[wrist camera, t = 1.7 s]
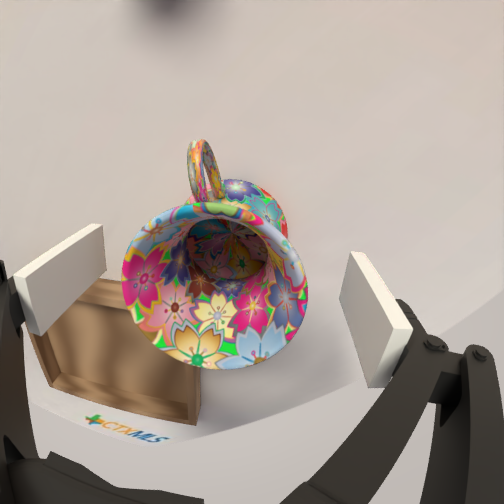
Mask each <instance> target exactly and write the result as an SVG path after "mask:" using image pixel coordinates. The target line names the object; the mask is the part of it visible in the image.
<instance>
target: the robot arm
mask: <svg viewBox="0 0 504 504" xmlns="http://www.w3.org/2000/svg"><path fill="white" fill-rule="evenodd" d="M106 270H107V269H106V260H105V249H104V237H103V225H101V224H90V225H88V226H87V227H85V228H83V229H82V230H80V231H78V232H77V233H75V234H73V235H72V236H70V237H69V238H67V239H66V240H64V241H62V242H61V243H59V244H58V245H56V246H55V247H53V248H52V249H50V250H48V251H47V252H45V253H44V254H42V255H41V256H40V257H38V258H37V259H35V260H34V261H32V262H31V263H29V264H28V265H26V266H25V267H24V268H22V269H21V270H19V271H18V272H16V273H15V274H14V275H13V276H12V277H11V278H9V279H7V275H6V271H5V266H4V262H3V261H2V260H0V504H204V499H201V498H195V497H189V496H184V495H179V494H174V493H170V492H166V491H162V490H142V489H128V488H118V487H115V486H113V485H111V484H110V483H108V482H106V481H105V480H103V479H102V478H100V477H99V476H97V475H96V474H94V473H93V472H91V471H90V470H89V469H87V468H86V467H84V466H83V465H81V464H79V463H76V462H74V461H71V460H69V459H67V458H65V457H62V456H60V455H58V454H56V453H54V452H52V451H50V453H49V455H48V457H47V459H40V458H39V456H38V453H37V450H36V445H35V440H34V436H33V430H32V424H31V419H30V412H29V405H28V397H27V389H26V378H25V366H24V346H23V330H22V327H21V324H22V323H23V322H24V321H26V324H27V327H28V330H29V332H30V333H33V334H36V335H39V336H42V335H43V334H44V333H45V332H46V331H47V330H48V329H49V328H50V326H51V325H52V324H53V323H54V322H55V321H56V320H57V319H58V318H59V317H60V316H61V315H62V314H63V313H64V312H65V311H66V310H67V309H68V308H69V307H70V306H71V305H72V304H73V303H74V302H75V301H76V300H77V299H78V298H79V297H80V296H81V295H82V294H83V293H84V292H85V291H86V290H87V289H88V288H89V287H90V286H91V285H92V284H93V283H94V282H95V281H96V280H97V279H98V278H99V277H100V276H101V275H102V274H103V273H104V272H105V271H106ZM339 300H340V303H341V306H342V309H343V312H344V314H345V317H346V320H347V323H348V326H349V329H350V332H351V335H352V338H353V341H354V344H355V347H356V350H357V353H358V357H359V360H360V363H361V366H362V369H363V373H364V376H365V379H366V382H367V386H368V388H385V389H384V391H383V392H382V394H381V395H380V396H379V398H378V399H377V401H376V402H375V403H374V405H373V406H372V407H371V409H370V410H369V411H368V413H367V414H366V415H365V416H364V418H363V419H362V420H361V422H360V423H359V424H358V425H357V427H356V428H355V429H354V430H353V432H352V433H351V434H350V435H349V436H348V438H347V439H346V440H345V441H344V442H343V444H342V445H341V446H340V447H339V448H338V449H337V451H336V452H335V453H334V454H333V455H332V456H331V457H330V458H329V459H328V461H327V462H326V463H325V464H324V465H323V466H322V467H321V468H320V469H319V470H318V471H317V472H316V474H314V476H312V477H311V478H310V479H309V480H308V481H307V482H303V483H302V484H301V485H299V486H298V487H297V488H296V489H295V490H294V491H293V492H292V493H291V494H290V495H288V496H287V497H286V498H285V499H284V500H283V501H282V502H281V503H280V504H368V503H369V502H370V500H371V499H372V497H373V496H374V495H375V493H376V492H377V490H378V489H379V487H380V486H381V484H382V483H383V481H384V480H385V478H386V477H387V475H388V474H389V472H390V471H391V469H392V468H393V466H394V464H395V463H396V461H397V459H398V458H399V456H400V454H401V453H402V451H403V449H404V447H405V446H406V444H407V442H408V440H409V438H410V437H411V435H412V432H413V431H414V429H415V427H416V425H417V423H418V421H419V419H420V417H421V415H422V413H423V411H424V409H425V407H426V405H427V403H428V402H430V403H435V404H436V413H435V422H434V431H433V438H432V445H431V451H430V457H429V463H428V468H427V473H426V478H425V483H424V488H423V492H422V496H421V500H420V504H504V418H503V409H502V401H501V394H500V388H499V382H498V377H497V371H496V366H495V362H494V358H493V356H492V354H491V353H490V352H489V350H487V349H485V347H483V346H479V345H474V344H473V345H469V346H468V347H467V348H466V350H465V352H464V354H458V353H453V352H449V351H448V349H449V348H448V346H447V344H446V343H445V342H444V341H443V340H441V339H440V338H438V337H436V336H433V335H428V334H427V333H426V331H425V329H424V328H423V326H422V325H421V323H420V322H419V320H417V317H416V316H415V314H413V311H412V310H411V308H410V307H409V305H407V304H406V303H405V302H404V301H402V300H401V299H394V297H393V295H392V294H391V292H390V291H389V289H388V288H387V286H386V285H385V283H384V282H383V280H382V279H381V277H380V276H379V274H378V273H377V271H376V270H375V268H374V267H373V265H372V264H371V262H370V261H369V259H368V258H367V256H366V255H365V254H364V253H360V252H352V251H350V254H349V259H348V263H347V268H346V272H345V276H344V280H343V285H342V289H341V293H340V297H339ZM391 377H393V378H392V379H391ZM390 379H391V381H390ZM389 381H390V382H389ZM388 383H389V384H388Z"/></svg>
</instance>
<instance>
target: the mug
mask: <svg viewBox="0 0 504 504" xmlns="http://www.w3.org/2000/svg"><path fill="white" fill-rule="evenodd" d="M203 163H204V166H205V169H206V172H207V175H208V178H209V182H210V184H207V185H206V183H205V177H204V170H203ZM187 165H188V175H189V181H190V186H191V190H192V193H193V195H192V196H191V197H190V198H189V199H188V200H187V201H186V203H185V205H181V206H178V207H174V208H172V209H170V210H167V211H165V212H163V213H161V214H159V215H158V216H156V217H155V218H153V219H152V220H150V221H149V222H148V223H147V224H146V225H145V226H144V227H143V228H142V229H141V230H140V231H139V232H138V233H137V234H136V236H135V237H134V239H133V240H132V242H131V244H130V246H129V247H128V250H127V252H126V255H125V258H124V262H123V267H122V279H121V281H122V291H123V296H124V300H125V304H126V306H127V309H128V311H129V313H130V315H131V317H132V319H133V321H134V322H135V324H136V325H137V327H138V328H139V330H140V331H141V332H142V333H143V334H144V335H145V337H146V338H147V339H148V340H149V341H150V342H151V343H153V344H154V345H155V346H156V347H157V348H159V349H160V350H162V351H163V352H165V353H166V354H168V355H170V356H171V357H173V358H175V359H177V360H180V361H182V362H184V363H187V364H190V365H193V366H197V367H201V368H207V369H217V370H227V369H238V368H243V367H248V366H251V365H254V364H257V363H259V362H262V361H264V360H266V359H268V358H270V357H271V356H273V355H275V354H276V353H277V352H279V351H280V350H281V349H282V348H284V347H285V346H286V345H287V344H288V343H289V341H290V340H291V339H292V338H293V337H294V335H295V334H296V332H297V331H298V329H299V327H300V325H301V323H302V321H303V318H304V315H305V312H306V308H307V301H308V287H307V280H306V275H305V271H304V268H303V265H302V263H301V261H300V258H299V256H298V254H297V253H296V251H295V249H294V248H293V246H292V245H291V244H290V242H289V241H288V240H287V236H288V233H287V224H286V220H285V217H284V214H283V212H282V210H281V208H280V206H279V205H278V203H277V202H276V201H275V199H274V198H273V197H272V196H271V195H270V194H268V193H267V192H266V191H265V190H263V189H262V188H260V187H258V186H256V185H254V184H252V183H249V182H246V181H242V180H232V179H228V180H221V177H220V173H219V170H218V166H217V163H216V160H215V157H214V154H213V152H212V149H211V147H210V146H209V144H208V143H207V141H205V140H202V139H199V140H194V141H192V142H191V143H190V144H189V147H188V153H187Z"/></svg>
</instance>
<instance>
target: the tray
mask: <svg viewBox="0 0 504 504" xmlns="http://www.w3.org/2000/svg"><path fill="white" fill-rule="evenodd" d="M25 324H26V321H25ZM26 327H27V324H26ZM27 330H28V327H27ZM28 333H29V336H30V339H31V342H32V344H33V347H34V350H35V352H36V355H37V358H38V360H39V363H40V365H41V368H42V370H43V372H44V375H45V377H46V379H47V382H48V384H49V386H50V387H52V388H55V389H58V390H60V391H63V392H66V393H69V394H71V395H74V396H77V397H80V398H83V399H86V400H89V401H93V402H96V403H99V404H102V405H106V406H109V407H113V408H116V409H120V410H124V411H128V412H132V413H136V414H140V415H144V416H148V417H153V418H157V419H162V420H167V421H172V422H177V423H183V424H189V425H195V426H196V424H197V419H198V415H199V411H200V406H201V403H200V367H197V366H193V365H190V364H187V363H184V362H182V361H180V360H177V359H175V358H173V357H171V356H170V355H168V354H166V353H165V352H163V351H162V350H160V349H159V348H157V347H156V346H155V345H154V344H153V343H151V342H150V341H149V340H148V339H147V338H146V337H145V335H144V334H143V333H142V332H141V331H140V330H139V328H138V327H137V325H136V324H135V322H134V321H133V319H132V317H131V315H130V313H129V311H128V309H127V306H126V304H125V300H124V296H123V291H122V282H120V281H114V280H107V279H101V278H98V279H97V280H96V281H95V282H94V283H93V284H92V285H91V286H90V287H89V288H88V289H87V290H86V291H85V292H84V293H83V294H82V295H81V296H80V297H79V298H78V299H77V300H76V301H75V302H74V303H73V304H72V305H71V306H70V307H69V308H68V309H67V310H66V311H65V312H64V313H63V314H62V315H61V316H60V317H59V318H58V319H57V320H56V321H55V322H54V323H53V324H52V325H51V326H50V328H49V329H48V330H47V331H46V332H45V333H44V334H43V335H42V336H39V335H36V334H33V333H30V332H29V330H28Z"/></svg>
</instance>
